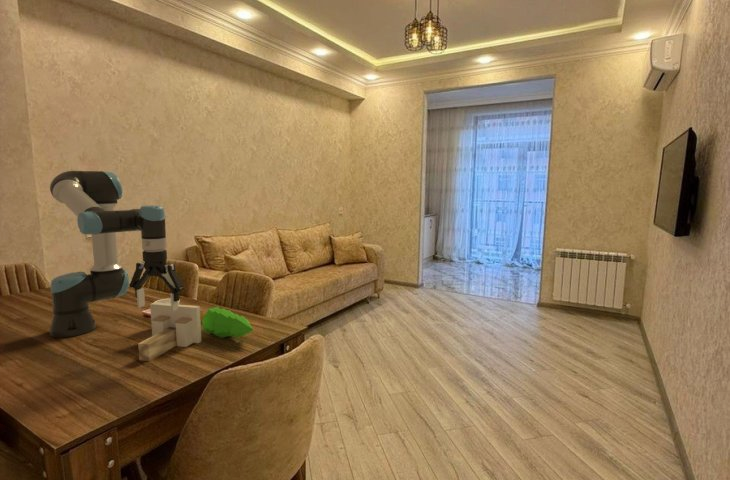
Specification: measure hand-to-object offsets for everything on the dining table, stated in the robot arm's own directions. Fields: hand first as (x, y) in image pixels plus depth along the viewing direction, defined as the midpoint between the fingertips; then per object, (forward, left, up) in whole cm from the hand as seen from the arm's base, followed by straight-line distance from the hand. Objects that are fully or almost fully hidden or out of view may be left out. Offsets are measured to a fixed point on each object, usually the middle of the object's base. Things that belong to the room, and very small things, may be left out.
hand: (157, 308), depth 142 cm
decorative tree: (+16, +17, -16) cm, 28 cm away
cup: (-14, +22, -16) cm, 30 cm away
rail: (0, 0, -16) cm, 16 cm away
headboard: (-1, +8, -16) cm, 18 cm away
